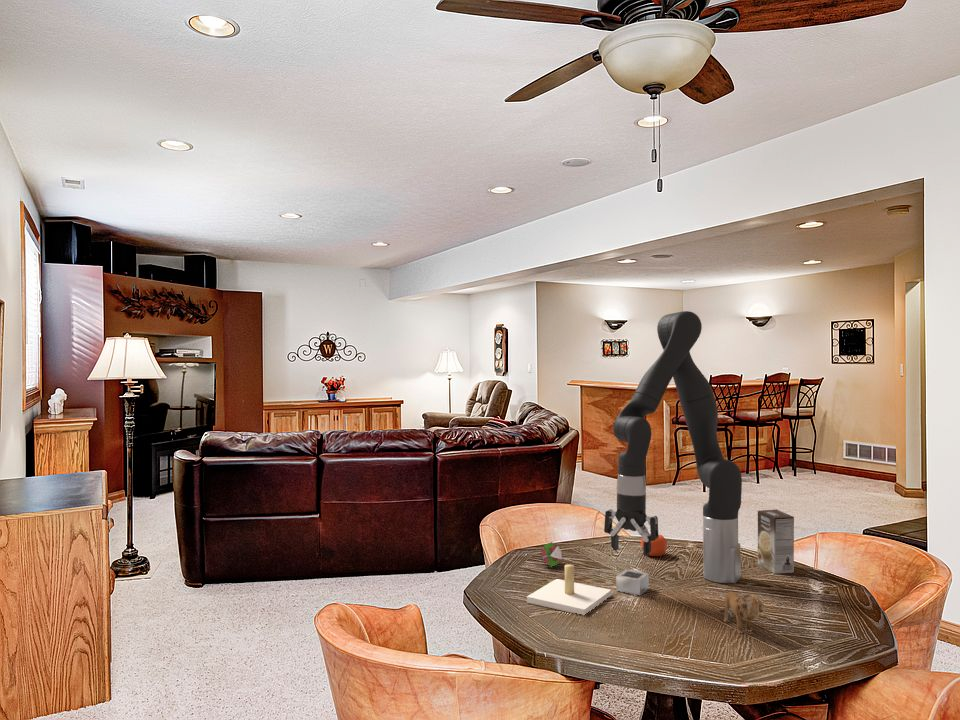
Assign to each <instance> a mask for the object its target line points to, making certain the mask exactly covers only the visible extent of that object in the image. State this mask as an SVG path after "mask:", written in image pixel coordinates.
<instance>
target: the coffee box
mask: <svg viewBox="0 0 960 720" xmlns="http://www.w3.org/2000/svg"><path fill="white" fill-rule="evenodd" d="M794 560H795V517H794V516H793V515H791V514H788V513H787V512H786V513H785V512H783V511H781V510H778V509H764V510H763V509H762V510H757V565H759V566H760V567H762V568H764V569H766V570H767V571H769V572H771V573H773V574H789V573H794V572H795V571H794V570H795V565H794V564H795V561H794Z"/></svg>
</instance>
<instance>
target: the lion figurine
mask: <svg viewBox="0 0 960 720" xmlns="http://www.w3.org/2000/svg"><path fill="white" fill-rule="evenodd" d="M766 606H767V605H765V604H764V603H763V602H762V601H761V600H760V599H759V596H758V595H757V594H750V593H749V594H746V595H745V594H744V595H743V596H739V595H738V593H736V592H733V591H729V592H726V594H725V598H724V609H720V610H719V613H721V614H723V613H724V618H723V622H724V623H729V622H730V620H729V615H730V617H731V618H736V625H737V627H736V628H737V631H736V632H737V633H738V632H743V633H744V631H743V627H742V625H743V621H745V630H746V629H747V630H749V631H750V630H751V632H753V631H752V630H753V628H751V627H750V626H751V622H753V621H754V620H755V618H757V617H759V616H760V614H763V613H764V611H765V609H766ZM729 610H730V611H729ZM747 630H746V631H747ZM749 631H748V632H749Z"/></svg>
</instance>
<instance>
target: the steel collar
mask: <svg viewBox="0 0 960 720" xmlns="http://www.w3.org/2000/svg"><path fill="white" fill-rule="evenodd" d="M615 577H616V582H615V583H616V592H618V591H620V592H619V593H623V592H625V593H624V594H628V593H630V594H629V595H633V594H635V595H634V596H638V595H639V597H641V595H643V594H644V593H646V591H648V590H649V588H650V587H649V583H650V581H649V573H647V572H641V571H636V570H630V569H624V570H623V571H621V572H620V573H619V574H617V575H616V576H615Z"/></svg>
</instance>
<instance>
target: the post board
mask: <svg viewBox="0 0 960 720" xmlns="http://www.w3.org/2000/svg"><path fill="white" fill-rule="evenodd" d="M608 597H609V598H610V597H612V589H609V588H604V587H599V586H594V585H590V584H585V583H580V582H579V583H578V582H575V565H574V564H571V563H569V564H565V565H564V579H558V578H556V579H554V580H552V581H550V582H549V583H546V584H545V585H544V586H542V587H540V588H538V589H537V590H535V591H534V592H532V593H530V594H529V595H527V596H526V603H528V604H532V605H536V606H541V607H544V608H550V609H554V610H558V611H563V612H567V613H570V614H575V613H577V614H576V615H579V614H582V615H581V616H584V615H585V614H586V613H588V612H589V611H590V612H592V611H593V610H595V607H596V606H597V607H598V606H600V605H601V604H602V603H603V601H604V600H605V601H606V600H608V599H609V598H608ZM607 598H608V599H607ZM605 601H604V602H605ZM600 603H601V604H600ZM599 604H600V605H599ZM597 607H596V608H597ZM592 609H593V610H592ZM591 610H592V611H591ZM590 612H589V613H590ZM589 613H588V614H589ZM586 615H587V614H586ZM586 615H585V616H586Z"/></svg>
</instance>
